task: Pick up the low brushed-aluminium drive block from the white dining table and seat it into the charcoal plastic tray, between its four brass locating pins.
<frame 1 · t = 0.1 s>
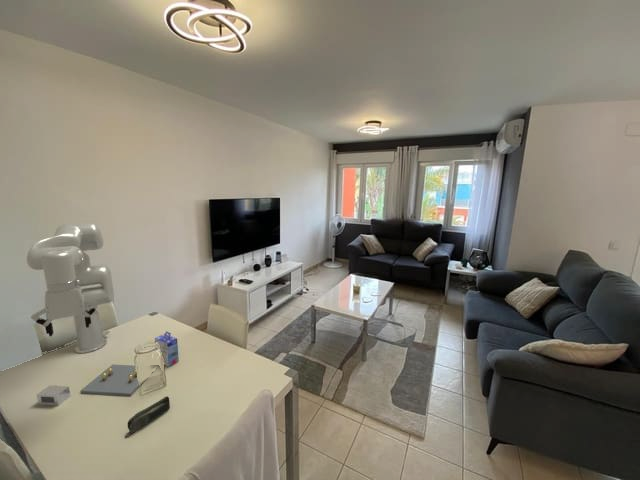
hand: (70, 330, 95), 31 cm above the table, tool pointing down, fingers open, 9 cm apart
mobile phone: (148, 421, 94), on the table
pin tray: (121, 380, 113), on the table
drive block: (55, 400, 102), on the table
ink cartridge box: (168, 361, 126), on the table
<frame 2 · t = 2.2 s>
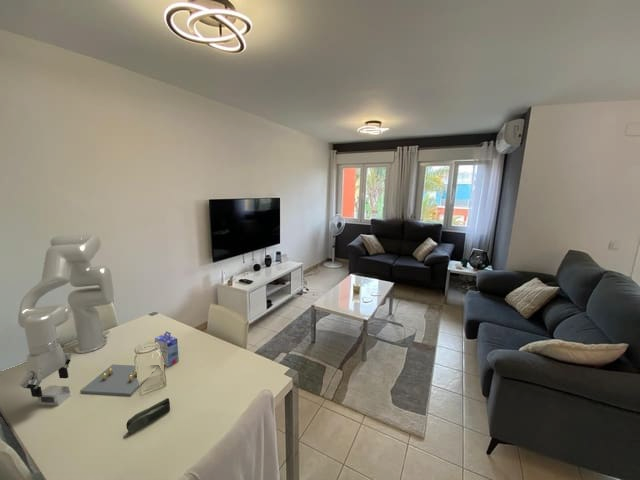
hand: (51, 386, 100), 7 cm above the table, tool pointing down, fingers open, 9 cm apart
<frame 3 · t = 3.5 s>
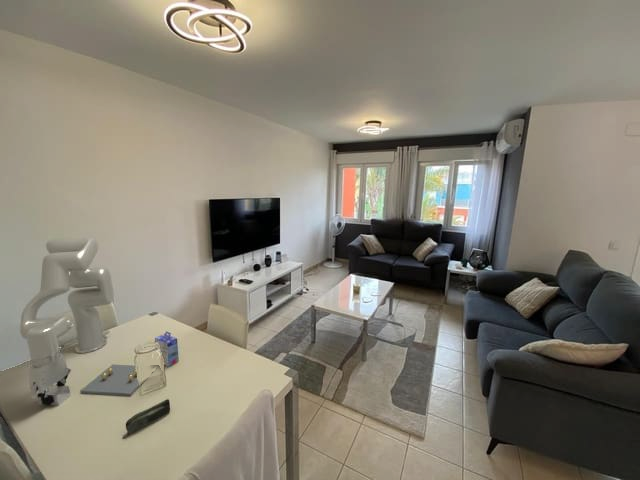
hand: (54, 398, 102), 1 cm above the table, tool pointing down, fingers closed on drive block, 4 cm apart
drive block: (55, 400, 102), on the table, touching gripper
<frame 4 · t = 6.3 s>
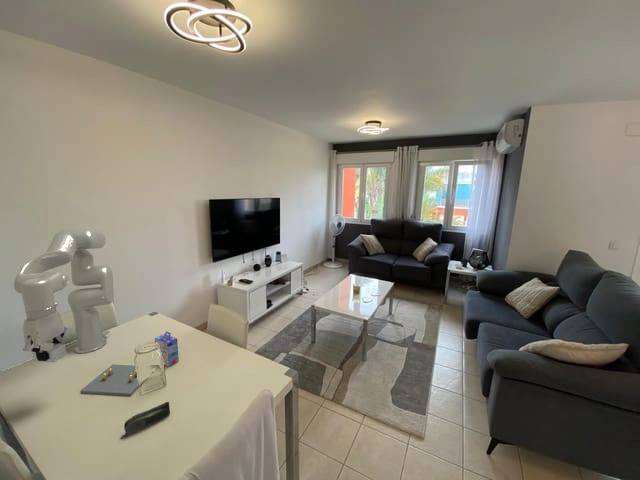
hand: (50, 355, 99), 19 cm above the table, tool pointing down, fingers closed on drive block, 4 cm apart
drive block: (50, 357, 99), point 18 cm above the table, touching gripper
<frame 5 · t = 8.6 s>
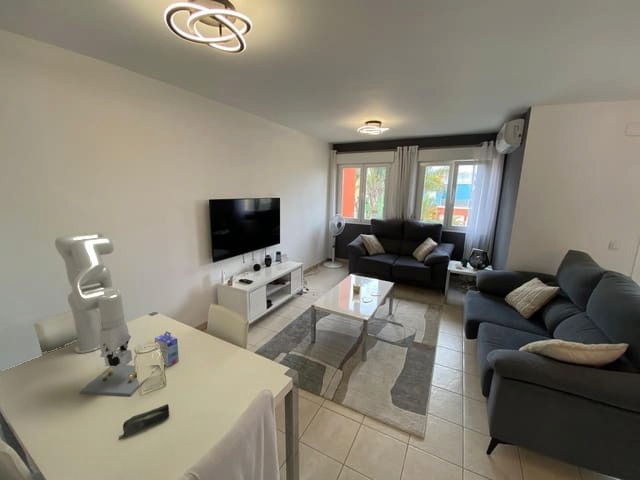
hand: (118, 360, 111), 10 cm above the table, tool pointing down, fingers closed on drive block, 4 cm apart
drive block: (119, 362, 111), point 9 cm above the table, touching gripper
when the fingers open (3 cm above the table, at t = 10.3 s): drive block stays where it is, resting on pin tray.
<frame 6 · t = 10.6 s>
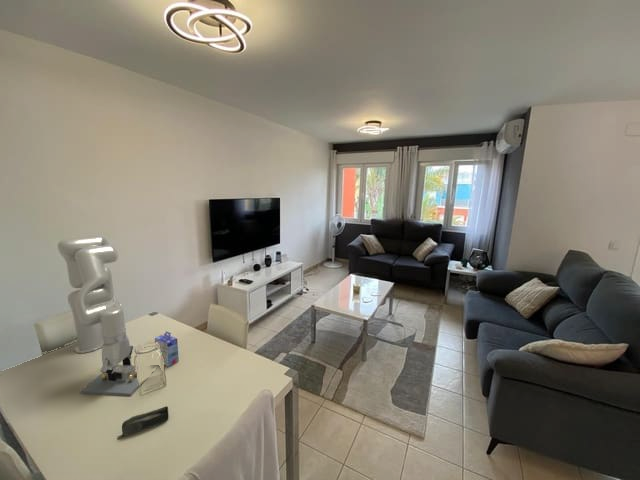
hand: (120, 373, 112), 3 cm above the table, tool pointing down, fingers open, 7 cm apart
drive block: (121, 377, 113), point 1 cm above the table, touching pin tray
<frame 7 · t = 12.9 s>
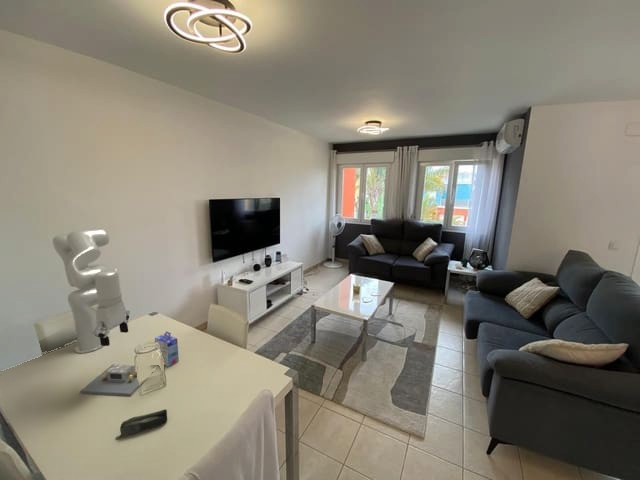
hand: (115, 338, 109), 20 cm above the table, tool pointing down, fingers open, 9 cm apart
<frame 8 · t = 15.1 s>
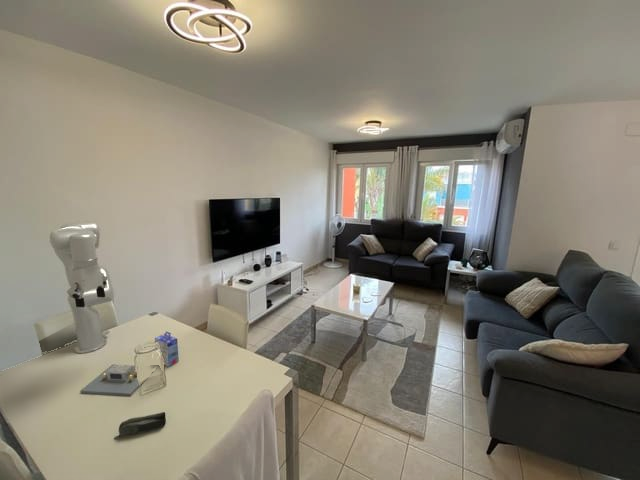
hand: (91, 301, 111), 34 cm above the table, tool pointing down, fingers open, 9 cm apart
at the end: drive block 0.1 cm off-centre on the pin tray, point 1.2 cm above the pin tray's base; drive block tilted 0°; the gripper is holding nothing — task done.
